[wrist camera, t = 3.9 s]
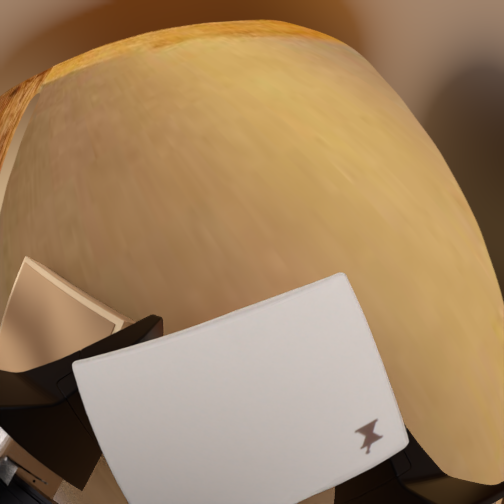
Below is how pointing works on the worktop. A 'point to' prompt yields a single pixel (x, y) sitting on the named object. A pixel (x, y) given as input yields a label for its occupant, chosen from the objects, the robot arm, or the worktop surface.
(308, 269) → the worktop surface
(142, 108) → the worktop surface
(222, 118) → the worktop surface
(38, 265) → the plinth
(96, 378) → the skincare box
